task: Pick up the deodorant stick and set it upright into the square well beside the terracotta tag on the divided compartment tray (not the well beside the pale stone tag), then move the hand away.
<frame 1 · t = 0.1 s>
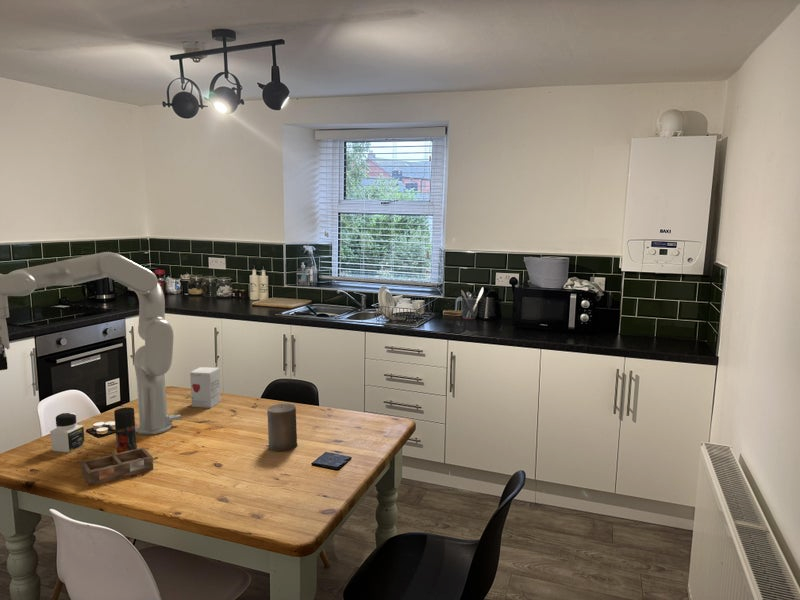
medicine bottle: (68, 448, 196), on the table
divided compartment tray: (118, 471, 178), on the table
deodorant: (127, 454, 191), on the table
supplement box: (206, 404, 243), on the table
pillar candle: (282, 446, 198), on the table
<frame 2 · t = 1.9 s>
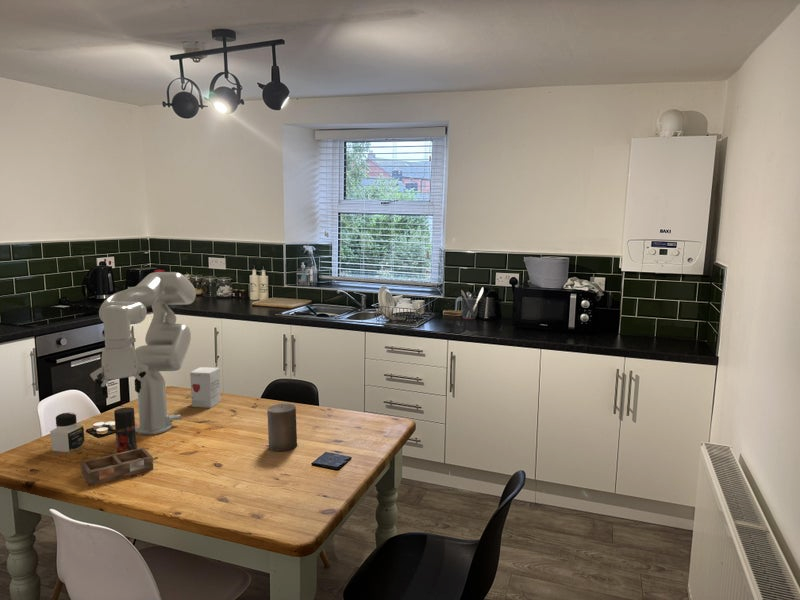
hand: (121, 394, 188), 20 cm above the table, tool pointing down, fingers open, 9 cm apart
nothing on the table moved.
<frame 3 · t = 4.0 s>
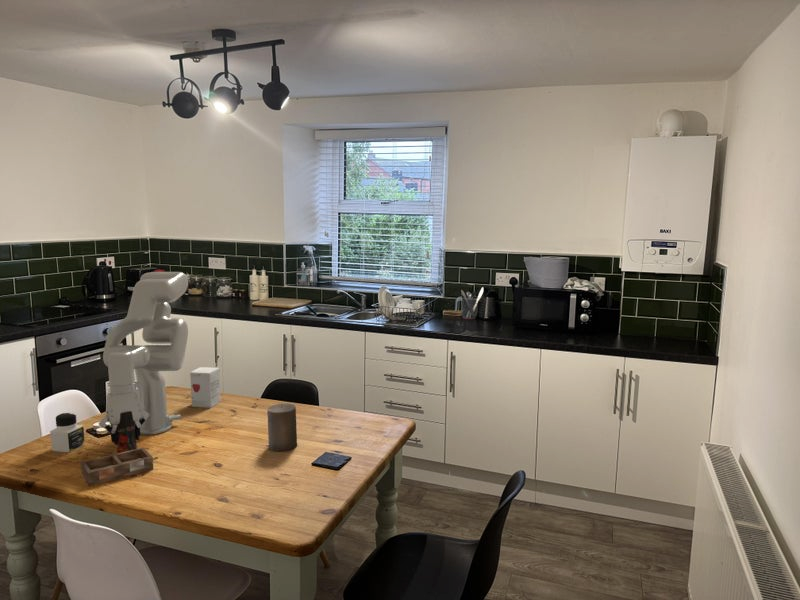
hand: (126, 440, 191), 5 cm above the table, tool pointing down, fingers closed on deodorant, 5 cm apart
deodorant: (127, 454, 191), on the table, touching gripper
everything else where it was.
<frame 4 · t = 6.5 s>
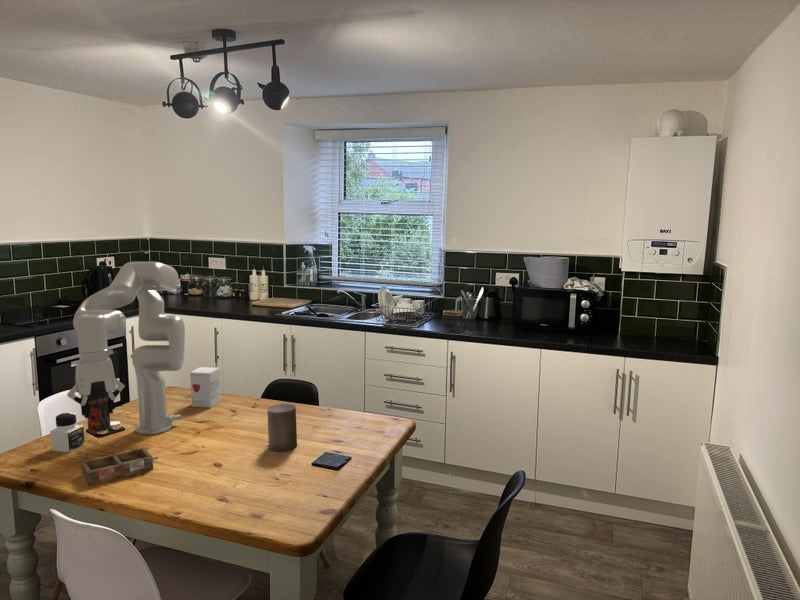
hand: (98, 414, 172), 19 cm above the table, tool pointing down, fingers closed on deodorant, 5 cm apart
deodorant: (99, 429, 173), point 15 cm above the table, touching gripper
everything else where it was.
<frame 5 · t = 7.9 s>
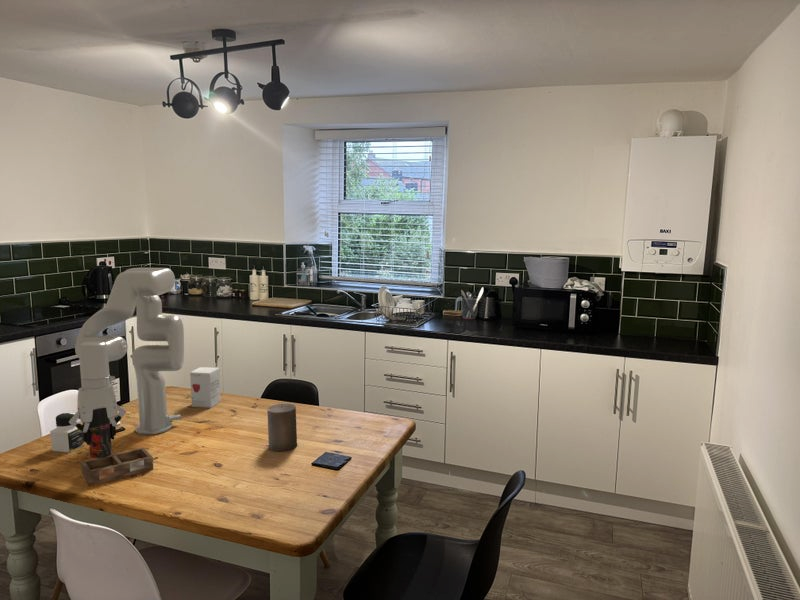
hand: (100, 440, 173), 11 cm above the table, tool pointing down, fingers closed on deodorant, 5 cm apart
deodorant: (101, 455, 174), point 7 cm above the table, touching gripper
everything else where it was.
when the fingers open (7 cm above the table, at t = 9.2 s): deodorant drops 1 cm, resting on divided compartment tray.
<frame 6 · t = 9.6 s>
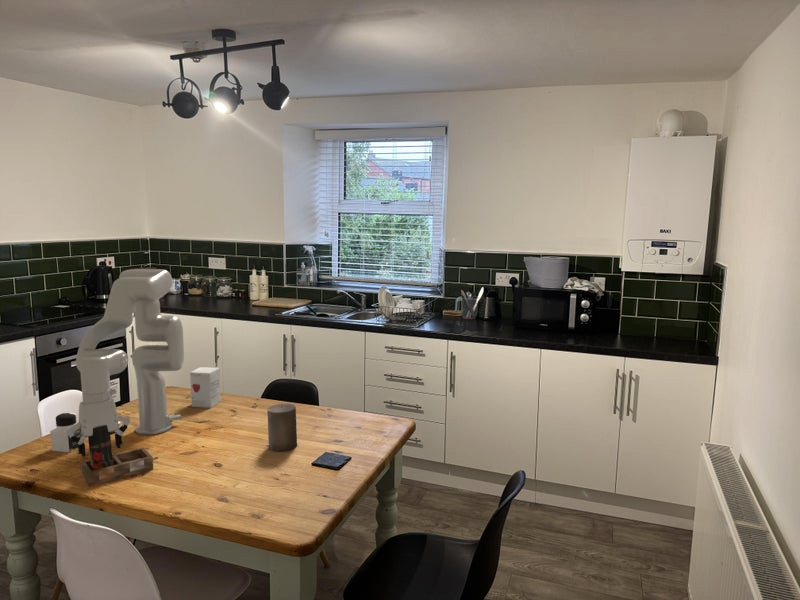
hand: (101, 451, 174), 8 cm above the table, tool pointing down, fingers open, 9 cm apart
deodorant: (102, 472, 175), point 1 cm above the table, touching divided compartment tray
everything else where it was.
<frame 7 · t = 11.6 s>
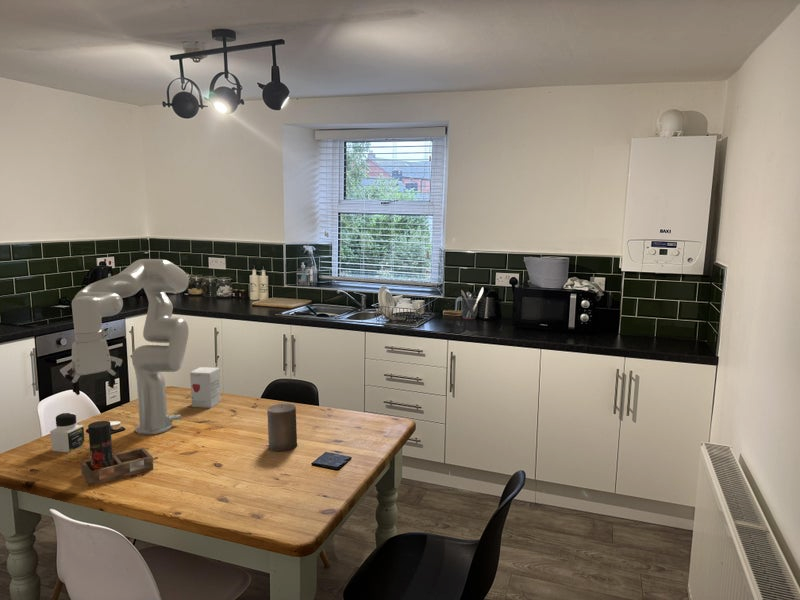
hand: (94, 390, 179), 24 cm above the table, tool pointing down, fingers open, 9 cm apart
nothing on the table moved.
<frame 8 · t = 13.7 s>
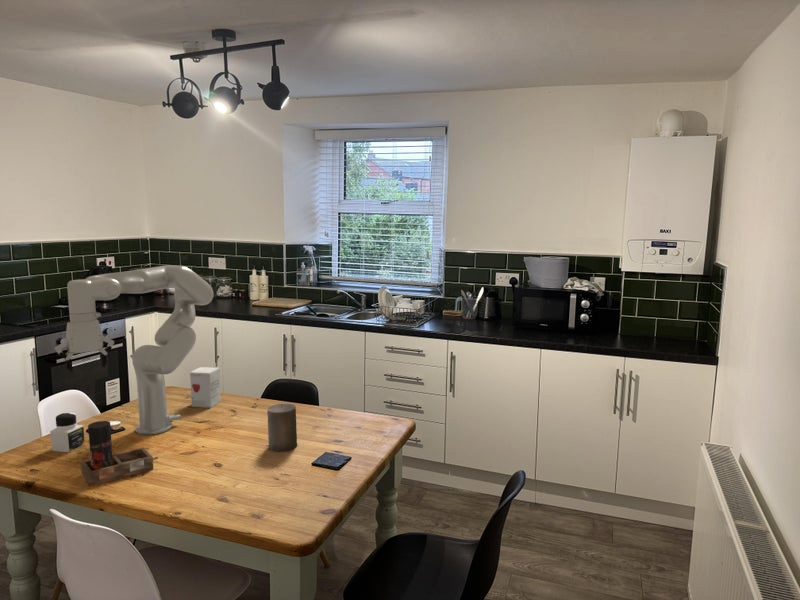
hand: (87, 368, 190), 28 cm above the table, tool pointing down, fingers open, 9 cm apart
nothing on the table moved.
at the end: deodorant 0.1 cm from the target spot on the divided compartment tray, point 1.0 cm above the divided compartment tray's base; deodorant tilted 0°; the gripper is holding nothing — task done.
